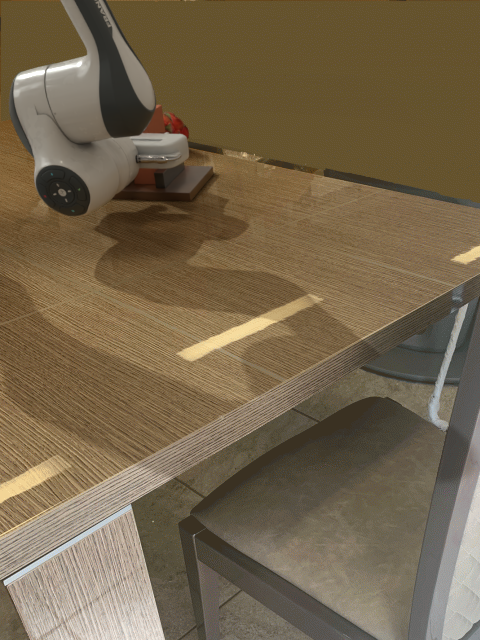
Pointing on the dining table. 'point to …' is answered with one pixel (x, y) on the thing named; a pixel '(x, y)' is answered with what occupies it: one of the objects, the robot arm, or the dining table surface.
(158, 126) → the reddish-brown tall block
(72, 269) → the dining table surface
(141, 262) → the dining table surface
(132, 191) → the plate with two ridges
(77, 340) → the dining table surface
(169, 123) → the dragon fruit
